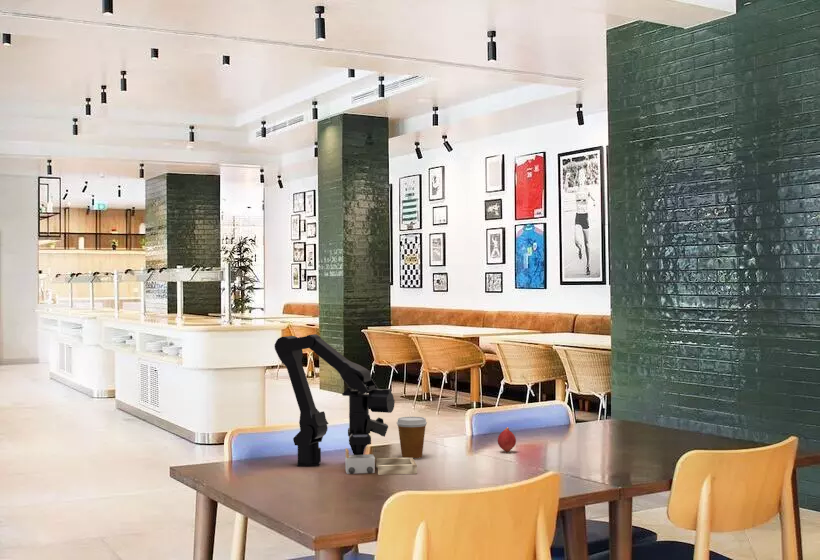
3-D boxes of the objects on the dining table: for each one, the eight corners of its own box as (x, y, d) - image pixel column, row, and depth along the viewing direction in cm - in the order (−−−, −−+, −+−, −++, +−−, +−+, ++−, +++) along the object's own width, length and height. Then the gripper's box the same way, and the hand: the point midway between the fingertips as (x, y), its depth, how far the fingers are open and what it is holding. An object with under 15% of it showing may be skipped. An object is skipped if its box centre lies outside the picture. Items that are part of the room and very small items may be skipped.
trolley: (346, 474, 267) (346, 451, 267) (345, 470, 273) (345, 447, 273) (374, 473, 268) (374, 450, 268) (372, 469, 274) (372, 447, 274)
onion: (495, 453, 299) (495, 428, 299) (500, 450, 305) (500, 425, 305) (513, 454, 297) (513, 429, 297) (518, 451, 302) (518, 426, 302)
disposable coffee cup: (424, 460, 288) (423, 421, 288) (393, 459, 289) (393, 420, 290) (429, 454, 297) (429, 416, 297) (400, 453, 299) (400, 416, 299)
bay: (378, 474, 265) (378, 465, 265) (375, 466, 277) (375, 458, 277) (416, 473, 266) (416, 465, 266) (413, 466, 278) (413, 457, 278)
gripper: (388, 415, 267) (388, 470, 267) (384, 406, 285) (384, 458, 285) (349, 415, 266) (349, 471, 266) (347, 407, 284) (348, 459, 284)
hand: (359, 464), depth 275 cm, fingers closed
